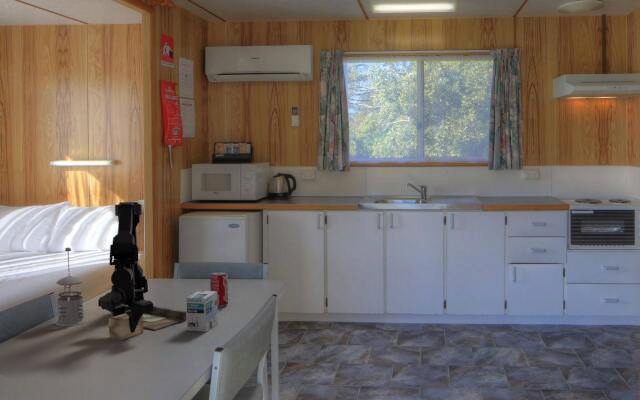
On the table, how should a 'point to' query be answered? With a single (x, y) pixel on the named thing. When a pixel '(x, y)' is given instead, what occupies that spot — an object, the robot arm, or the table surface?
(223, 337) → the table surface
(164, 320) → the tray
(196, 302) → the light bulb box
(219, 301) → the soda can
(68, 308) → the french press
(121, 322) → the maple block
